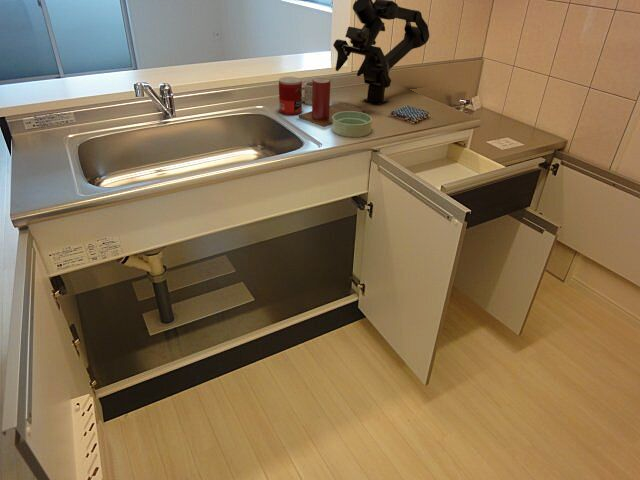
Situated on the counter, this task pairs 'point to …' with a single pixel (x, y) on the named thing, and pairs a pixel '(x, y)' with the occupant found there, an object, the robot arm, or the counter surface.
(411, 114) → the woven mat
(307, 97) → the mug
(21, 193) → the counter surface
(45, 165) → the counter surface
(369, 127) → the bowl
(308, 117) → the cutting board
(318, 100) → the drink can
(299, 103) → the canned food
